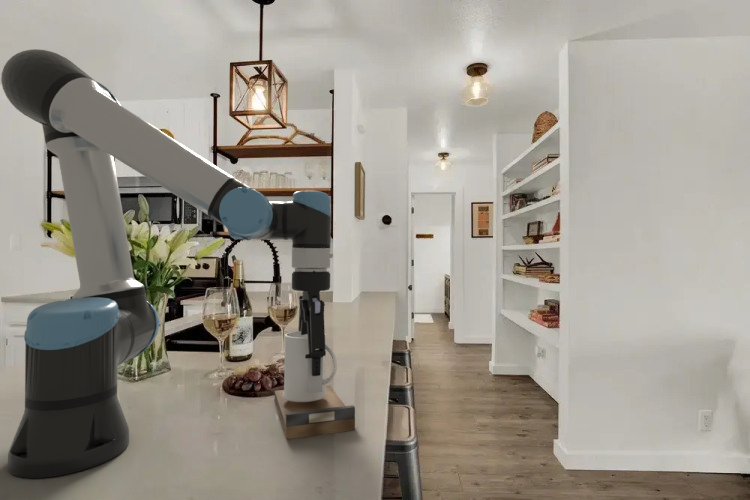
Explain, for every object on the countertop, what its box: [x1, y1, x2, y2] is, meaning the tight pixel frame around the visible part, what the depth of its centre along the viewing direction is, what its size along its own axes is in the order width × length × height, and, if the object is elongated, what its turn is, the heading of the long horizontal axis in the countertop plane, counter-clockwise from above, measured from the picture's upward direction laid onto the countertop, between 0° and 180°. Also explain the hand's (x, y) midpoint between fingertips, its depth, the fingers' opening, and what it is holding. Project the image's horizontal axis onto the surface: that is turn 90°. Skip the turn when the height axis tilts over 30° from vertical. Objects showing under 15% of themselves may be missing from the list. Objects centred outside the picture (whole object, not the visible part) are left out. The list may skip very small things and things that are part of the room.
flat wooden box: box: [274, 385, 356, 440], centre depth 82 cm, size 12×20×4 cm, turn 19°
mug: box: [283, 331, 338, 402], centre depth 83 cm, size 12×8×12 cm
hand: (310, 384), depth 83 cm, fingers closed on mug, 9 cm apart
